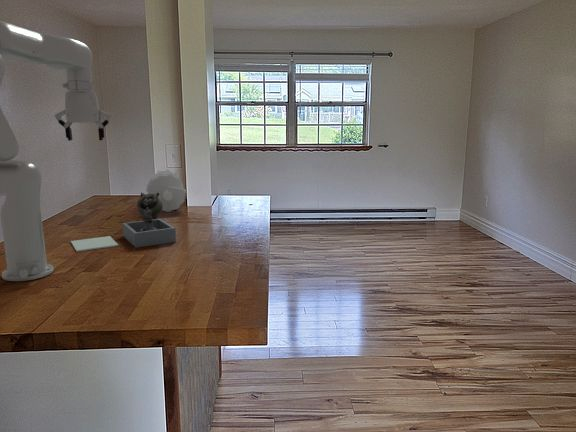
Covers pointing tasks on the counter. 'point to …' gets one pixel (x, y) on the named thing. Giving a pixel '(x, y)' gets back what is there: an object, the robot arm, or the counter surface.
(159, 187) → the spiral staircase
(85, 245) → the mat
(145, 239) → the crate
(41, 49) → the robot arm
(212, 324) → the counter surface
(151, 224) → the stone chess piece
